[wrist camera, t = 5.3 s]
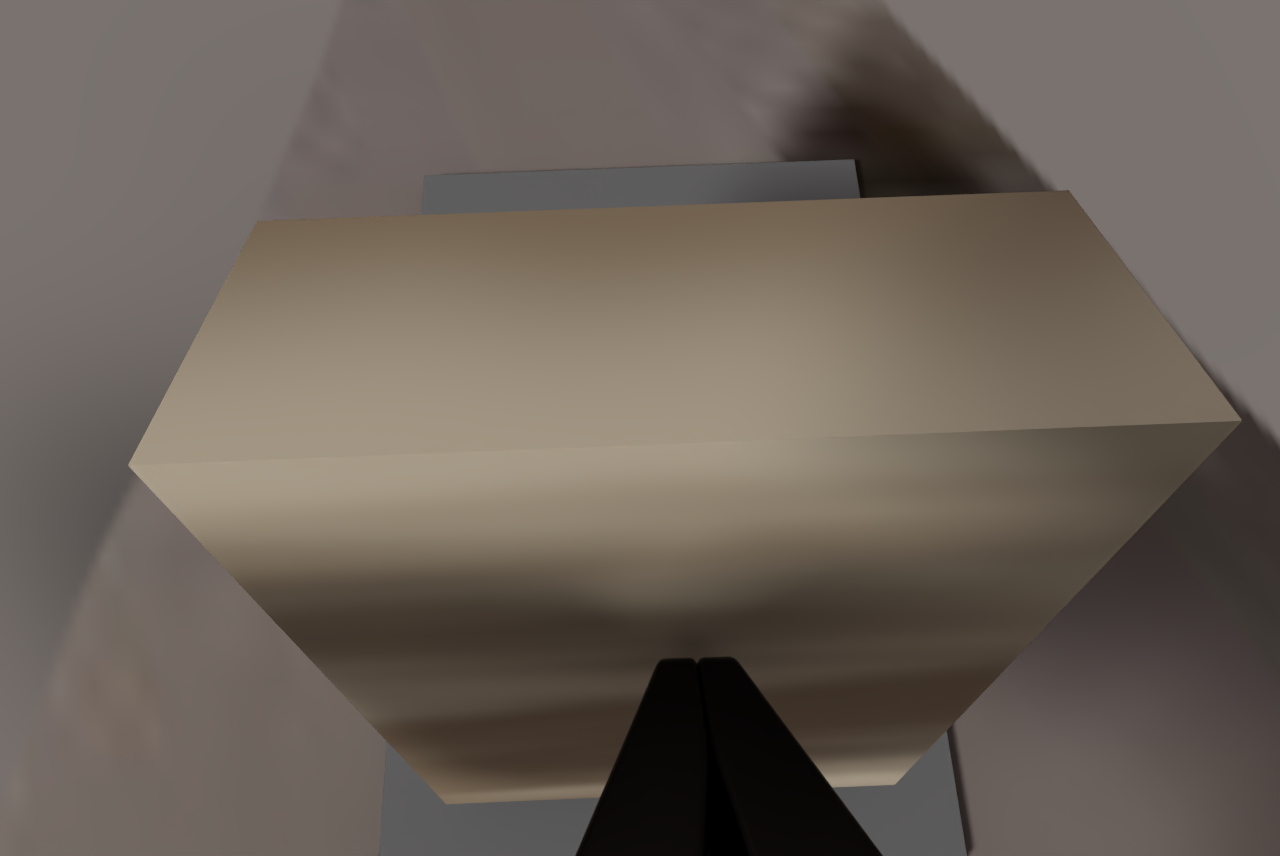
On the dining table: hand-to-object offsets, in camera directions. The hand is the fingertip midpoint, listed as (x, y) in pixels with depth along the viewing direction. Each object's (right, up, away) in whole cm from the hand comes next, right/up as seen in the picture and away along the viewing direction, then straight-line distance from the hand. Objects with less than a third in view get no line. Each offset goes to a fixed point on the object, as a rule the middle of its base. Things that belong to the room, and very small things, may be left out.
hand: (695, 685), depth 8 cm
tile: (0, -3, +6) cm, 6 cm away
